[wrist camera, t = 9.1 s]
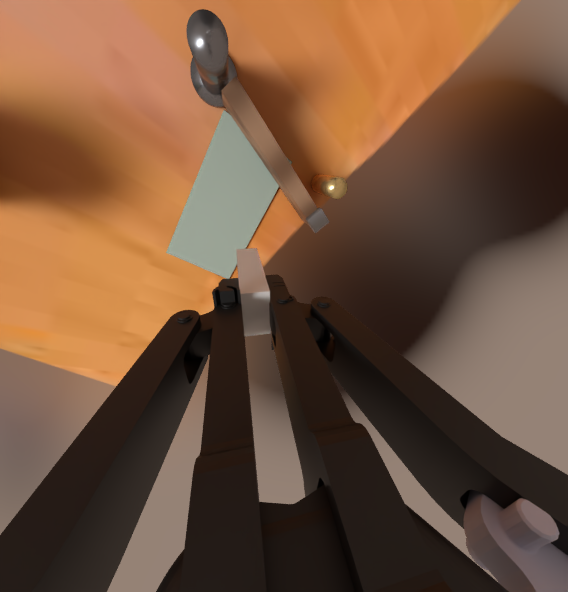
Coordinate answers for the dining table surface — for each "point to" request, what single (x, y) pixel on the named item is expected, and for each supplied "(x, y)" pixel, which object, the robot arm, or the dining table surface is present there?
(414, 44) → the dining table surface
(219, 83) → the hinge post
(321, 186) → the post
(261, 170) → the mat
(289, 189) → the gate
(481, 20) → the dining table surface
